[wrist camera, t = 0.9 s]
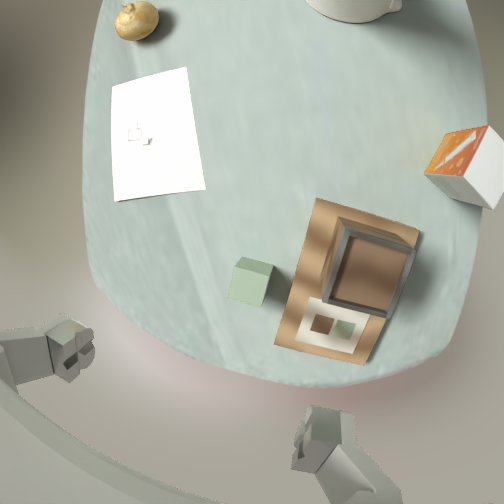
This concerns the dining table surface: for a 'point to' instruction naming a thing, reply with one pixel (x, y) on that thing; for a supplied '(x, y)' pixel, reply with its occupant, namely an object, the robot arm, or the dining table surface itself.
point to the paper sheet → (154, 137)
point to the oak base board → (314, 283)
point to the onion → (136, 21)
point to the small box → (470, 166)
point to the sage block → (250, 281)
